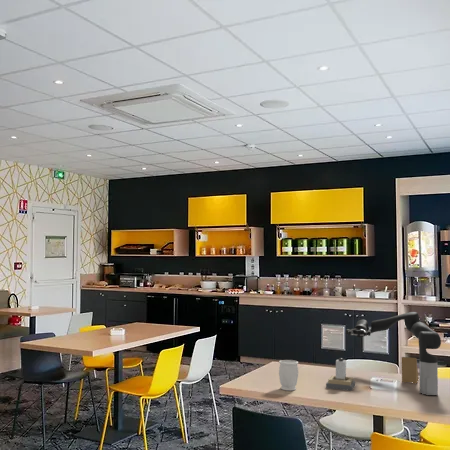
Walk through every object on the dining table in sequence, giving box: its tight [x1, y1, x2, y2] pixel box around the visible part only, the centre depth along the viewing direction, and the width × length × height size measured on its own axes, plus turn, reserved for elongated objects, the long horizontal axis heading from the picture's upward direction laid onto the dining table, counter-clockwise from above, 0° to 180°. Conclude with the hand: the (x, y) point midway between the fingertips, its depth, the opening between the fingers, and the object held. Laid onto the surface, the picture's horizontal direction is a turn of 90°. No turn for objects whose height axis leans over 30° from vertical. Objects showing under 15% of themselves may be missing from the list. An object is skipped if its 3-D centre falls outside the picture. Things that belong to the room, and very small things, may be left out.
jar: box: [278, 359, 299, 392], centre depth 294 cm, size 11×10×15 cm
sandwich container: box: [401, 356, 419, 384], centre depth 324 cm, size 9×15×15 cm, turn 155°
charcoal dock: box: [325, 375, 356, 392], centre depth 302 cm, size 14×14×4 cm
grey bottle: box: [335, 357, 347, 381], centre depth 303 cm, size 5×5×13 cm
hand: (357, 333), depth 318 cm, fingers open, 8 cm apart
